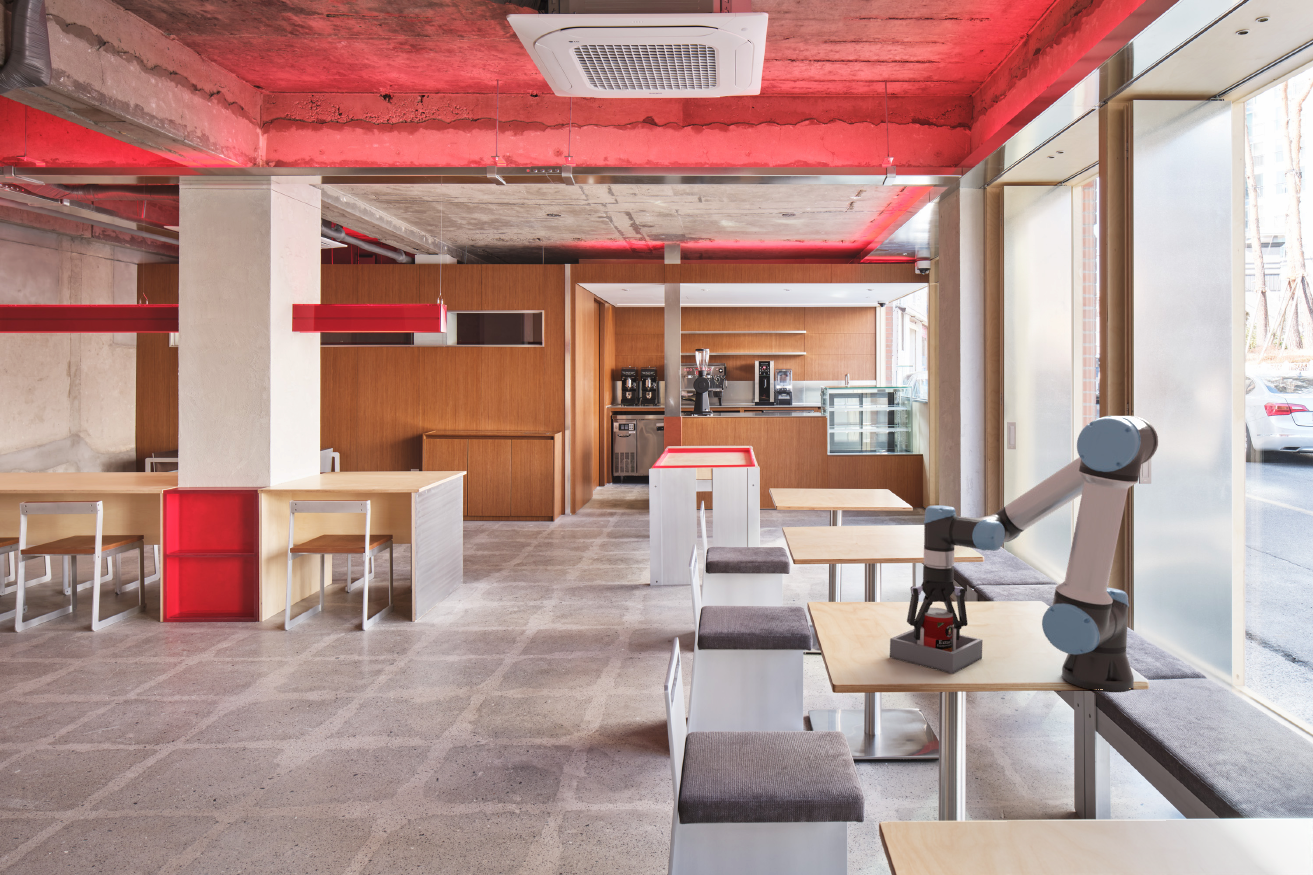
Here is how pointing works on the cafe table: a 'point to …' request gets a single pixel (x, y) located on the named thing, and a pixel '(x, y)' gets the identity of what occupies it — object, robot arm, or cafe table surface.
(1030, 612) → the cafe table surface
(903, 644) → the box
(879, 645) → the cafe table surface
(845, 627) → the cafe table surface
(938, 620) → the canned food
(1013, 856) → the cafe table surface
